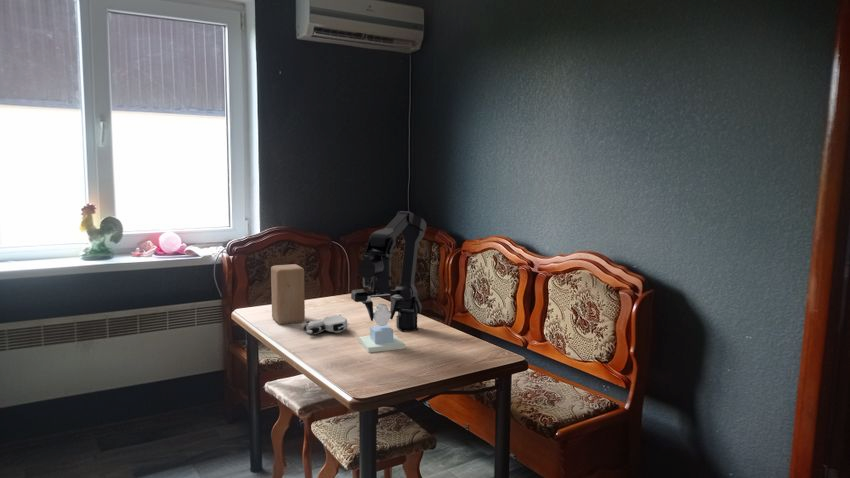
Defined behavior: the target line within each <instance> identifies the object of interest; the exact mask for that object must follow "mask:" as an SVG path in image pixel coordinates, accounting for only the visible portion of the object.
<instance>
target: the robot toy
mask: <svg viewBox="0 0 850 478" xmlns="http://www.w3.org/2000/svg"><path fill="white" fill-rule="evenodd" d="M349 325H350V323H348V319H347V318H346V317H344V316H343V315H342V314H338V315H337V314H336V315H331V316H326V317H324V318H323V319H322V320H321V319H314V320H313V319H312V320H310V321H306V322H302V324H301V326H302V327H303V330H304V331H305V332H306V333H308V334H311V335H312V334H313V335H317V334H320V333H323V332H324V331H327V332H330V333H335V334H339V333H341V332H343V331H345V330H346V329H347V328H348V326H349Z"/></svg>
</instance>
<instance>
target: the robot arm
mask: <svg viewBox="0 0 850 478" xmlns="http://www.w3.org/2000/svg"><path fill="white" fill-rule="evenodd" d="M395 215H396V216H394V217H393V219H391V221H389V223H388V224H387V225H385V227H383V228H381V229H377V230H376V231H374V232H372V233H371V235H370V236H369V238H368V240H367V243H366V247H365V250H364V254H363V255H364V256H363V259H362V260H361V261H360V263H359V265H358V267H357V268H358V273H359V274H360V276H361V277H362V287H363V288H361V289H353V290H351V293H350V295H351V296H350V298H351V300H353V302H355V303H362V304H363V305H365V307H366V310H367V313H368V316H369V319H370V322H374V319H373V311H374V301H372V298H380V297H383V298H384V297H389V298H390V310H389V311H390V312H391V316H390V319H389V320H393V318H394V317H396V318H395V319H396V321H395V323H396V326H395V327H396V328H397V330H399V331H401V332H411V331H419V330H420V328H419V327H418V314H421V313H422V307H423V305H422V303H421V301H420V299H419V296H418V295H419V294H418V290H417V288H416V286H415V285H416V284H415V278H416V272H417V260H418V254H419V253H418V252H419V244H420V242H421V241H422V239H423V238H424V237H425V232H426V230H427V222H426V221H425V220H424V218H422V217H420V216H418V215H416V214H414V213H413V212H411V211H401V210H399V211H397V212H396V214H395ZM399 235H401V236H402V238H403V240H404V246H403V247H404V249H403V257H402V265H401V273H400V275H401V276H400V282H399V284H398V285H397V286H395V287H394V289H392V288H391V286H392V285H391V282H392V280H393V279H392V276H391V275H392V273H391V270H392V269H391V265H392V264H391V263H392V262H391V258H393V256H394V254H393V253H392V252H393V250H394V248H395V246H396V239H397V237H398V236H399ZM365 288H368V291H366V290H365ZM396 313H397V315H396V316H395V314H396Z"/></svg>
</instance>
